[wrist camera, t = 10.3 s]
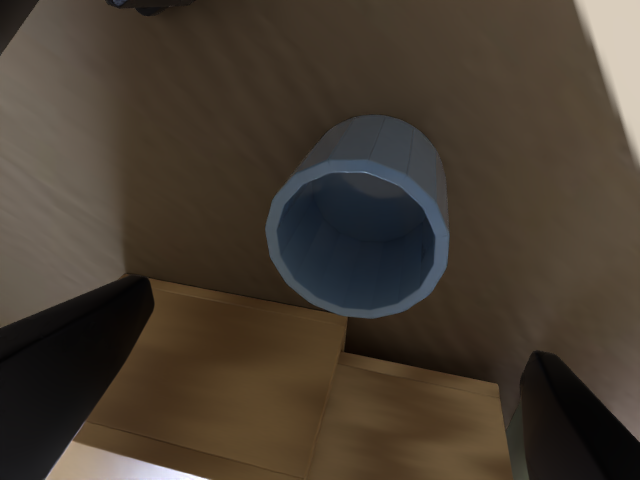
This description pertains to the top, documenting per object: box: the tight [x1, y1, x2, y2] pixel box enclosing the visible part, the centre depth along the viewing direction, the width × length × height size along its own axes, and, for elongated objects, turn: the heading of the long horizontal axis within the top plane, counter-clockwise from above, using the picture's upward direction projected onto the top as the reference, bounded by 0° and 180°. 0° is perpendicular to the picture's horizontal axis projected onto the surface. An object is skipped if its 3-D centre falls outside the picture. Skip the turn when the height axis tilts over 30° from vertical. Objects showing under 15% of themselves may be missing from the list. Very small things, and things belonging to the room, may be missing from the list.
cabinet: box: [45, 274, 348, 480], centre depth 21 cm, size 13×13×9 cm
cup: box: [265, 115, 450, 319], centre depth 15 cm, size 6×6×5 cm
